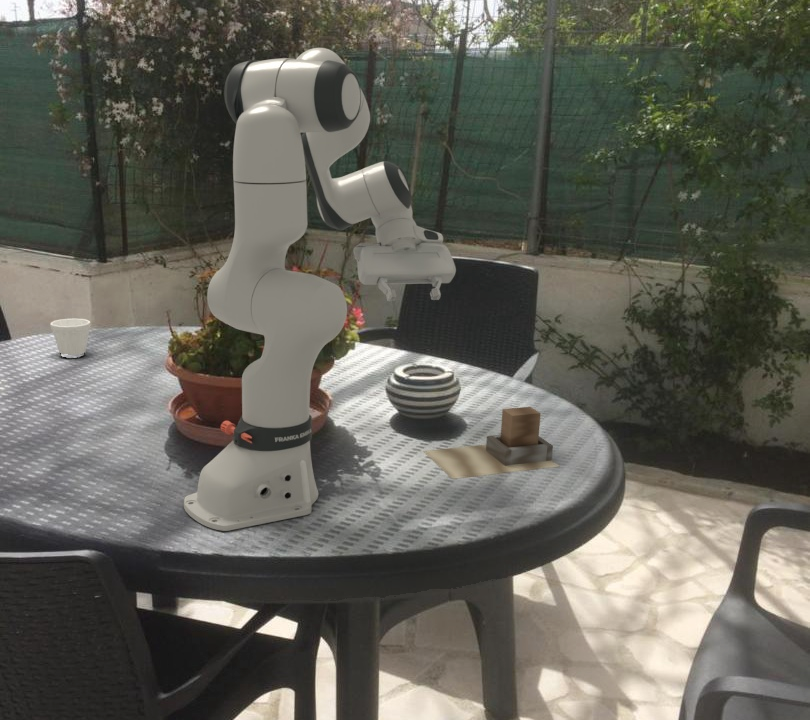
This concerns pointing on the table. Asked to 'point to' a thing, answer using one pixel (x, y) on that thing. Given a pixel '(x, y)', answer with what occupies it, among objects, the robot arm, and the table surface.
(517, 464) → the floor panel
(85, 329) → the cup
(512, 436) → the wooden block
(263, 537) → the table surface
